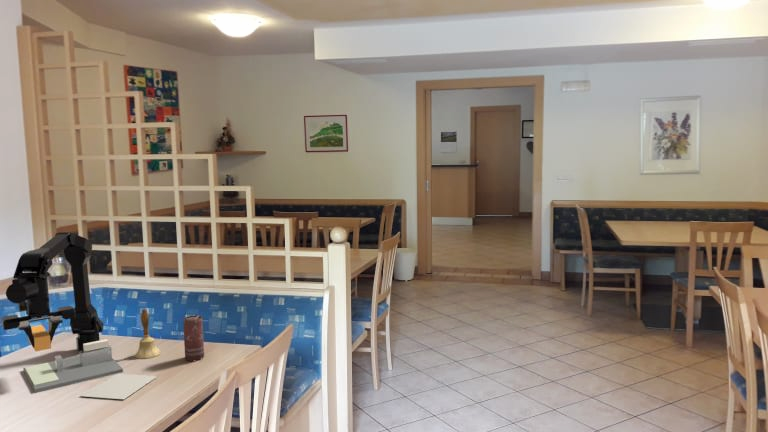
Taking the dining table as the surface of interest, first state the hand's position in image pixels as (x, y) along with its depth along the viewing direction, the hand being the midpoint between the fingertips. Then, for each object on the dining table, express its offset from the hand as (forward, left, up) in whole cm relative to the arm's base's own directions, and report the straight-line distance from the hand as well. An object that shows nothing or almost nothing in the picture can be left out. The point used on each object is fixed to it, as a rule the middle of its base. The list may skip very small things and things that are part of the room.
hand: (41, 345), depth 173 cm
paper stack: (-16, +26, -12) cm, 33 cm away
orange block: (0, -4, -1) cm, 4 cm away
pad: (0, -4, -11) cm, 12 cm away
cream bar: (-16, -4, -6) cm, 17 cm away
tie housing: (-12, -4, -10) cm, 16 cm away
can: (-42, +11, -12) cm, 45 cm away
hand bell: (-31, -3, -12) cm, 34 cm away
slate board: (-8, -3, -11) cm, 15 cm away
